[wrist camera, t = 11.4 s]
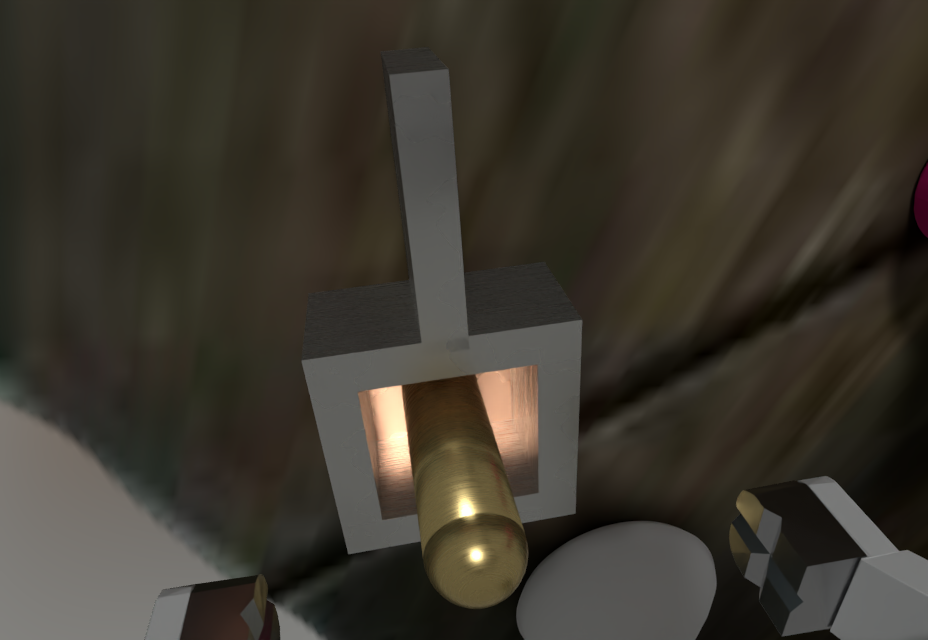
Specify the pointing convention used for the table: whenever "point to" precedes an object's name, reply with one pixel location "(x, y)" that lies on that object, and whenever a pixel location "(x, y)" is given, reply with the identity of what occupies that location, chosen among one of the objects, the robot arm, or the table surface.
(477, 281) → the steel link
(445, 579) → the post
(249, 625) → the robot arm
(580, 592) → the flower in vase
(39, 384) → the table surface
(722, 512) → the table surface
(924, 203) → the pepper mill
